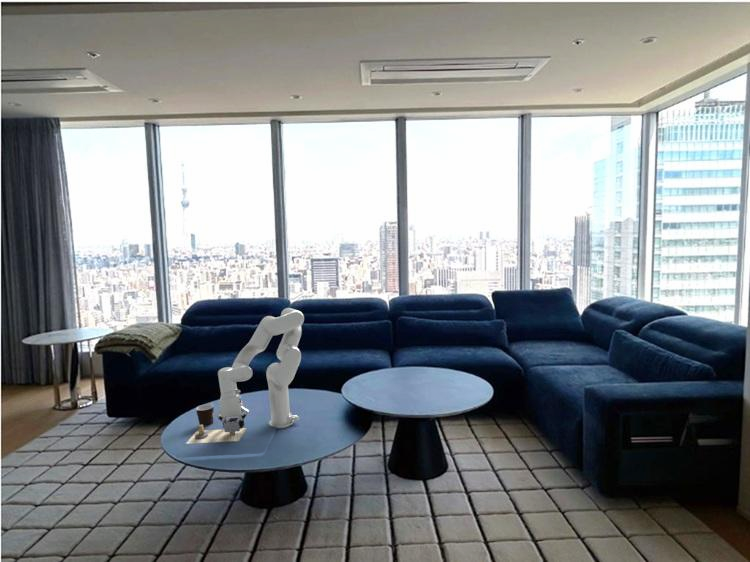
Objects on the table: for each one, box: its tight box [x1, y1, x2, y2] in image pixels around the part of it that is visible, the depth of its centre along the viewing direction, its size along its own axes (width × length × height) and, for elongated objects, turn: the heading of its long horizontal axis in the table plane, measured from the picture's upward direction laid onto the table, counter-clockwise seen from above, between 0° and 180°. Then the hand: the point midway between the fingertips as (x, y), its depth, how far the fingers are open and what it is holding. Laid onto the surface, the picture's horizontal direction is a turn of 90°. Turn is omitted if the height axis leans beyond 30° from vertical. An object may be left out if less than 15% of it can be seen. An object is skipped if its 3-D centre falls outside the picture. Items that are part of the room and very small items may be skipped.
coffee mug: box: [195, 403, 215, 427], centre depth 240 cm, size 12×9×10 cm
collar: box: [223, 416, 241, 432], centre depth 223 cm, size 7×7×4 cm
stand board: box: [185, 424, 247, 445], centre depth 223 cm, size 25×14×7 cm, turn 90°
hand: (234, 427), depth 224 cm, fingers closed on collar, 7 cm apart
